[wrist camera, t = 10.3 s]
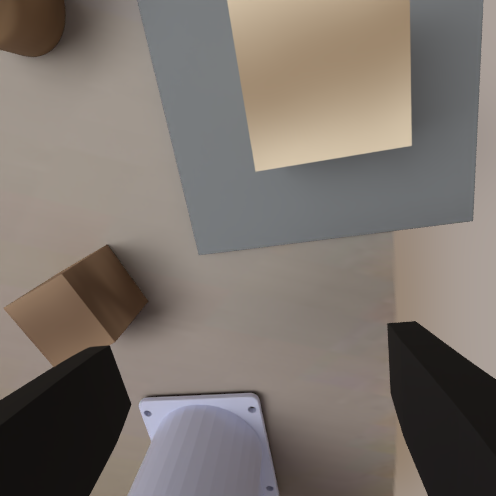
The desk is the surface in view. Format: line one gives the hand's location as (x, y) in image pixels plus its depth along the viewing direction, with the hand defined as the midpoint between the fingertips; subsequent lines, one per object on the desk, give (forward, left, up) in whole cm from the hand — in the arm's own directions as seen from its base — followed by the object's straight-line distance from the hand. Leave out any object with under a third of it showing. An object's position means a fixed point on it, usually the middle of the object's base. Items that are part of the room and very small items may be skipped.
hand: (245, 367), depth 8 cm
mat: (+7, -3, -9) cm, 12 cm away
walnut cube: (-1, +10, -10) cm, 14 cm away
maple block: (+7, -3, -9) cm, 11 cm away
